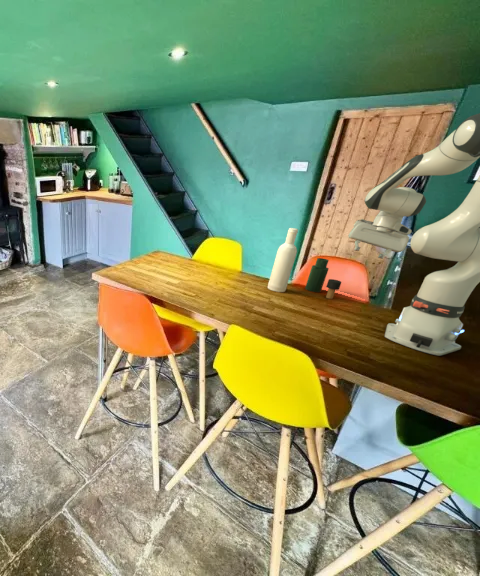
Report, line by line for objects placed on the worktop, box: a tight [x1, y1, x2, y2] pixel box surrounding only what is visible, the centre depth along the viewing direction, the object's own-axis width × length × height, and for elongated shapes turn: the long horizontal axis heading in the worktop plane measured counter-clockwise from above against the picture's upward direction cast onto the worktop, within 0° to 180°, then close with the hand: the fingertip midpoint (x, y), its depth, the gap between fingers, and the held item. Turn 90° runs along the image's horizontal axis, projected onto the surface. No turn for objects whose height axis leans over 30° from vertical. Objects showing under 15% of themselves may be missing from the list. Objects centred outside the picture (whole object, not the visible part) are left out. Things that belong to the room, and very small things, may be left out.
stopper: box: [325, 278, 342, 300], centre depth 140 cm, size 5×5×8 cm
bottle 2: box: [304, 257, 329, 293], centre depth 148 cm, size 7×7×16 cm
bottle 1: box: [267, 227, 299, 293], centre depth 143 cm, size 8×8×30 cm
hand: (368, 254), depth 136 cm, fingers open, 8 cm apart
